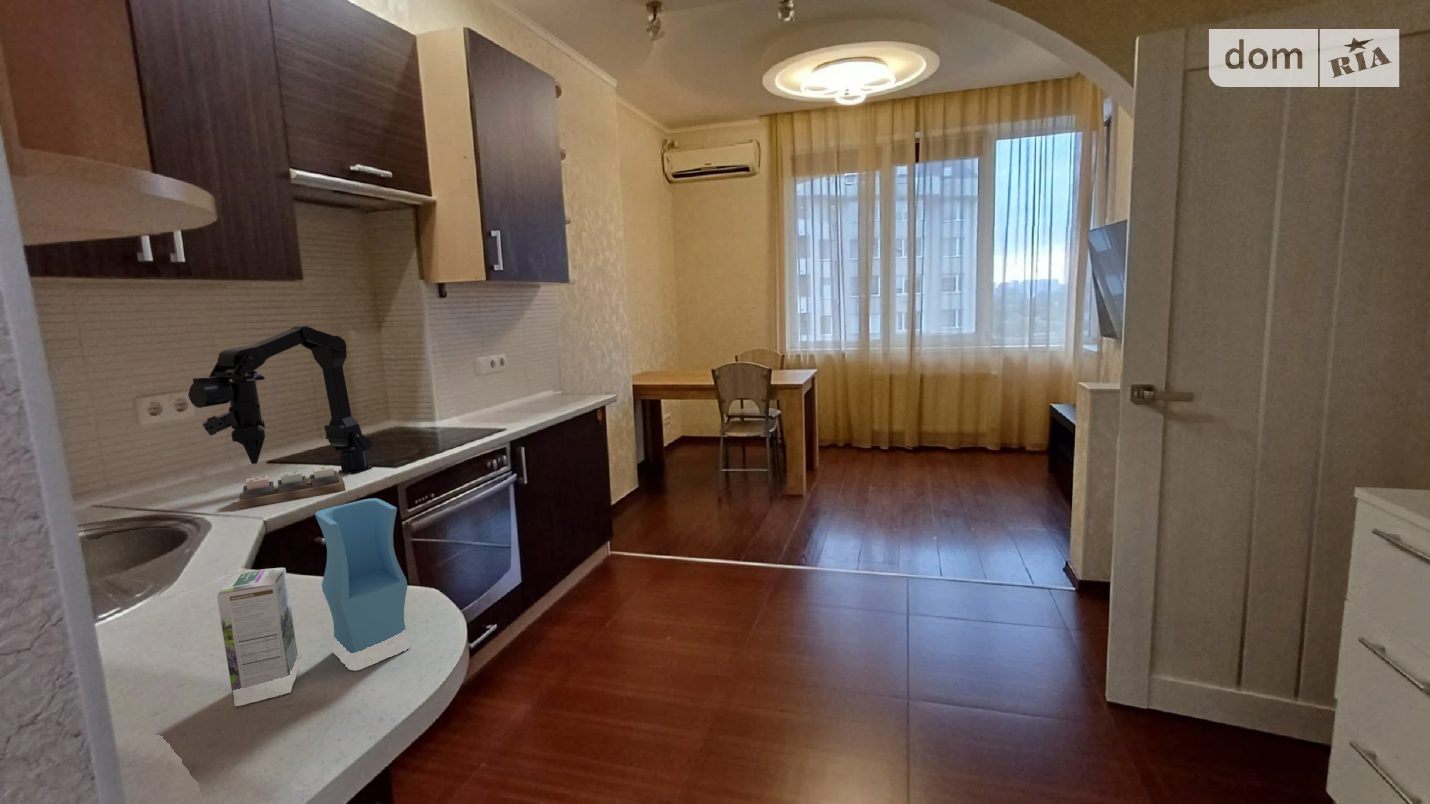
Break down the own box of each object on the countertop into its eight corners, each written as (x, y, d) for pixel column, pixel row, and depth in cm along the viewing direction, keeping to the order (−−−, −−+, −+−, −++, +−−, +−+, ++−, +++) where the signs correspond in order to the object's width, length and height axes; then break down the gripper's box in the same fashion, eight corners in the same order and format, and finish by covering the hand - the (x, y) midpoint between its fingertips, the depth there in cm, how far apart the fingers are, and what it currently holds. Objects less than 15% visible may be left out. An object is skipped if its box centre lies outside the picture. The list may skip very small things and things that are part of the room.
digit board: (342, 482, 168) (340, 468, 167) (345, 490, 161) (343, 475, 160) (241, 500, 155) (238, 485, 155) (240, 509, 148) (237, 493, 147)
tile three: (269, 483, 156) (267, 475, 156) (269, 486, 153) (268, 478, 153) (247, 486, 154) (246, 478, 154) (247, 490, 150) (245, 482, 150)
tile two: (302, 477, 160) (300, 470, 160) (302, 481, 157) (301, 473, 157) (281, 480, 158) (280, 473, 158) (282, 484, 154) (280, 476, 154)
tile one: (333, 472, 164) (332, 465, 164) (334, 475, 161) (333, 468, 161) (313, 475, 162) (312, 468, 162) (314, 479, 158) (313, 471, 158)
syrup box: (246, 682, 77) (227, 574, 75) (302, 669, 80) (285, 564, 77) (234, 709, 72) (213, 594, 70) (293, 694, 75) (275, 582, 72)
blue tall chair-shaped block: (351, 674, 78) (329, 525, 75) (331, 652, 84) (310, 512, 80) (415, 647, 84) (397, 507, 81) (392, 628, 89) (375, 496, 86)
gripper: (204, 400, 153) (215, 461, 155) (198, 409, 138) (210, 476, 140) (260, 395, 159) (269, 453, 162) (259, 403, 144) (270, 467, 147)
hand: (254, 462), depth 152 cm, fingers open, 3 cm apart
